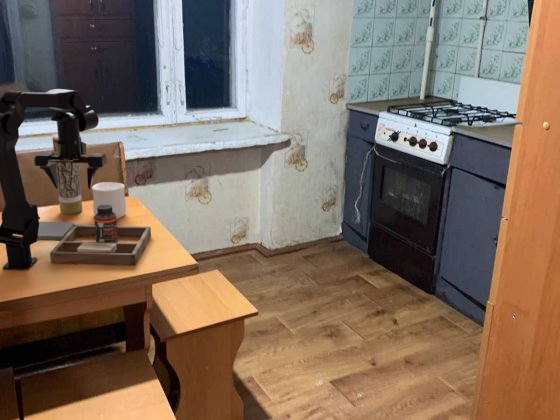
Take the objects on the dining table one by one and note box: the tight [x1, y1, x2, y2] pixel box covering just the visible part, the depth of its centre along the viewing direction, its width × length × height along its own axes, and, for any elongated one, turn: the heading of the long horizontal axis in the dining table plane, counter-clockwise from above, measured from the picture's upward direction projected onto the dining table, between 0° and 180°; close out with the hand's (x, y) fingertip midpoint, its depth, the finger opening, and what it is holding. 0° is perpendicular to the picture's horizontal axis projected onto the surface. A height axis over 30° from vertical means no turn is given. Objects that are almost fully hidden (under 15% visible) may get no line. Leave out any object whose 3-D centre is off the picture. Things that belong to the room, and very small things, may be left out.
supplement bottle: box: [93, 204, 119, 242], centre depth 165 cm, size 6×6×11 cm
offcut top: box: [77, 241, 117, 253], centre depth 157 cm, size 4×9×2 cm, turn 86°
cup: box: [91, 181, 127, 219], centre depth 188 cm, size 10×10×10 cm
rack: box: [49, 224, 152, 267], centre depth 164 cm, size 20×22×3 cm
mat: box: [37, 221, 76, 241], centre depth 174 cm, size 11×11×1 cm
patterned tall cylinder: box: [52, 133, 83, 215], centre depth 187 cm, size 7×7×25 cm
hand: (73, 188), depth 170 cm, fingers open, 9 cm apart
